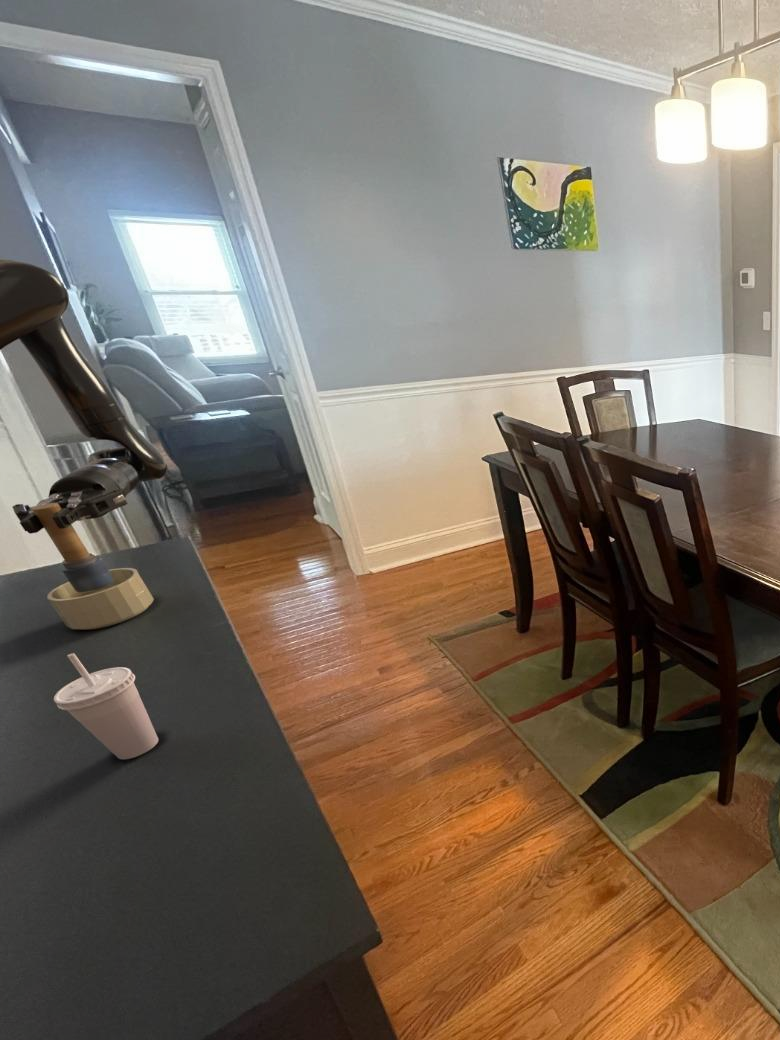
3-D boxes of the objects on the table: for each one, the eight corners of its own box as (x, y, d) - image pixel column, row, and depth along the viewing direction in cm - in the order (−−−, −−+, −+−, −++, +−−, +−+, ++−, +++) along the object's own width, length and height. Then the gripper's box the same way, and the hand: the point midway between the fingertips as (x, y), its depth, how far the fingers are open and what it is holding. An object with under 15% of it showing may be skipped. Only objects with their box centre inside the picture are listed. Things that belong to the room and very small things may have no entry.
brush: (67, 594, 95) (14, 513, 89) (88, 580, 99) (39, 502, 93) (100, 590, 96) (50, 509, 89) (121, 576, 100) (74, 499, 93)
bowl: (50, 636, 94) (27, 604, 91) (100, 602, 103) (81, 572, 101) (127, 626, 96) (107, 594, 93) (169, 594, 105) (152, 564, 102)
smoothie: (103, 777, 67) (27, 679, 61) (99, 750, 71) (28, 655, 64) (176, 745, 71) (113, 650, 65) (169, 721, 75) (108, 629, 69)
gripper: (24, 477, 99) (-38, 511, 85) (133, 462, 104) (91, 492, 91) (50, 518, 102) (-6, 558, 89) (154, 502, 108) (117, 537, 94)
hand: (44, 524), depth 90 cm, fingers closed on brush, 3 cm apart
